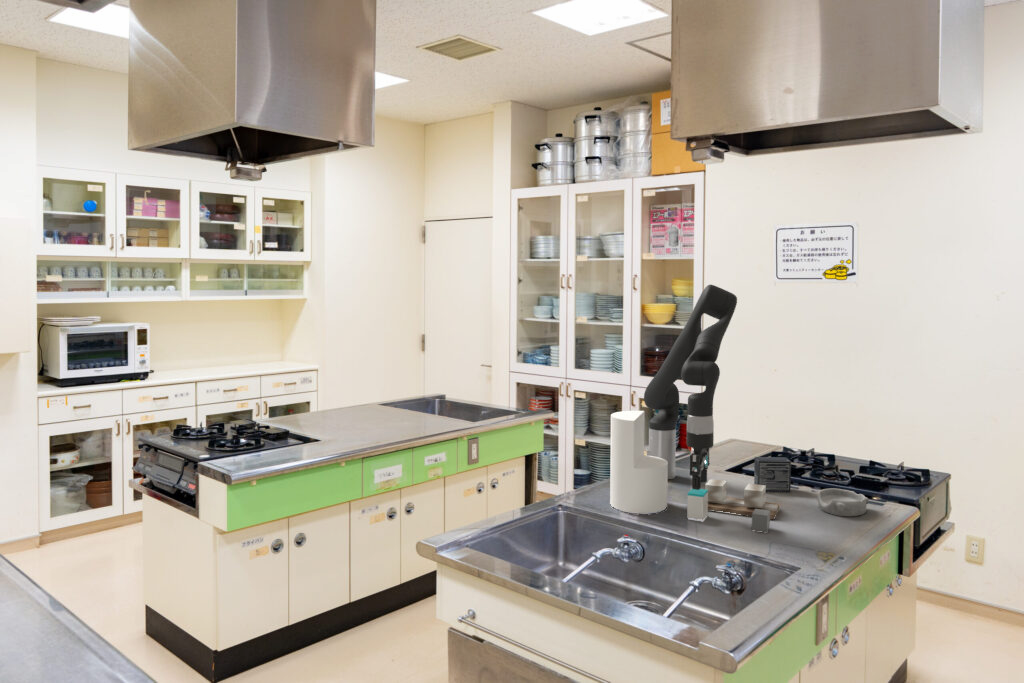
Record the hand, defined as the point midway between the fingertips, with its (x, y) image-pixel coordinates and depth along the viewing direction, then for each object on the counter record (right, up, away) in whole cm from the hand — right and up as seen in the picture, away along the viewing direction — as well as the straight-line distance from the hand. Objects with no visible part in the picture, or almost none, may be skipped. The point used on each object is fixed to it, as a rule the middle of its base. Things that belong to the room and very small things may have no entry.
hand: (699, 485), depth 218 cm
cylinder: (-16, -9, +13) cm, 22 cm away
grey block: (+15, -11, -9) cm, 20 cm away
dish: (+45, -9, +8) cm, 46 cm away
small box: (+31, -7, +30) cm, 44 cm away
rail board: (+13, -9, +10) cm, 19 cm away
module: (0, -10, +1) cm, 10 cm away
